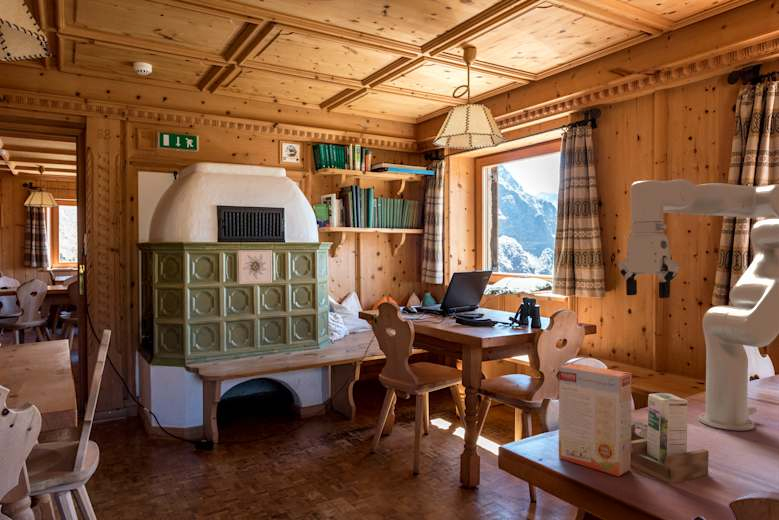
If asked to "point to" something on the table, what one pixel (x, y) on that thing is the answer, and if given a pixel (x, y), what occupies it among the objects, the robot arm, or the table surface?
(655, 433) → the syrup box
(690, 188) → the robot arm
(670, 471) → the tray
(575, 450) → the cracker box
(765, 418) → the table surface
